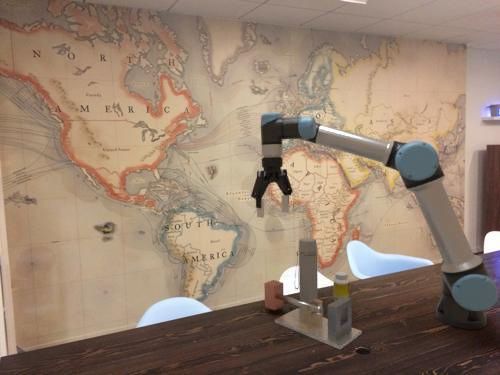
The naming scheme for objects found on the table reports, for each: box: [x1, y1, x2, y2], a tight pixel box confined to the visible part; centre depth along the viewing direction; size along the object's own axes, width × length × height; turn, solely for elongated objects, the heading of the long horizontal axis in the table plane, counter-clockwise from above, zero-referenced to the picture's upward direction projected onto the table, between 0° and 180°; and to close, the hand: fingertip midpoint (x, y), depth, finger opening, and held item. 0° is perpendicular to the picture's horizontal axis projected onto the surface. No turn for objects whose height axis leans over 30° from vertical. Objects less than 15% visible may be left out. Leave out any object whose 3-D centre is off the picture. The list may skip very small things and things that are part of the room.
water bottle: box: [294, 237, 319, 304], centre depth 140 cm, size 9×8×25 cm
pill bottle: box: [333, 271, 350, 301], centre depth 141 cm, size 6×6×11 cm
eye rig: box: [274, 296, 363, 350], centre depth 118 cm, size 26×13×12 cm, turn 45°
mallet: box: [264, 279, 324, 315], centre depth 125 cm, size 24×5×9 cm, turn 45°
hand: (273, 214), depth 129 cm, fingers open, 13 cm apart
